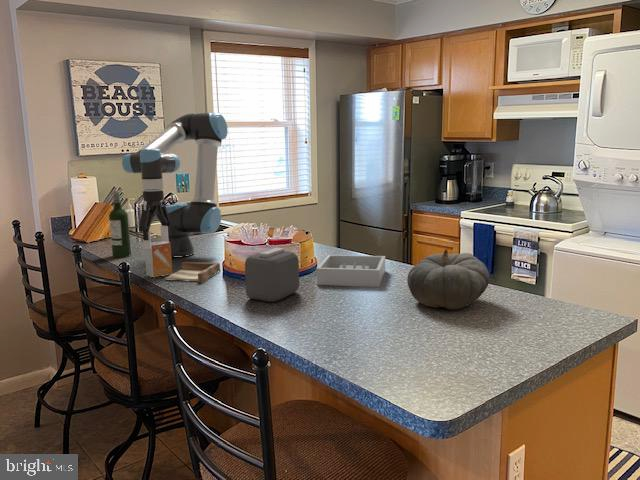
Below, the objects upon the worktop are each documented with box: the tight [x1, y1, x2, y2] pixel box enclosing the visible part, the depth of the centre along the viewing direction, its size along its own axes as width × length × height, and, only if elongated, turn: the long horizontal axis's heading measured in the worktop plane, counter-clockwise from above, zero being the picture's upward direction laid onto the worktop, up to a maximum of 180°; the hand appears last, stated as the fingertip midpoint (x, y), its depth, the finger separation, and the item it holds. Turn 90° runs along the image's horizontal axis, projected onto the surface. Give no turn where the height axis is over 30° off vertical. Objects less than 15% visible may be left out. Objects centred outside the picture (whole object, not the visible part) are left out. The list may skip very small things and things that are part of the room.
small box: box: [144, 240, 173, 277], centre depth 214 cm, size 8×6×13 cm
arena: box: [164, 261, 221, 283], centre depth 212 cm, size 17×16×4 cm
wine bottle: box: [108, 189, 132, 259], centre depth 249 cm, size 8×8×30 cm
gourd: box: [406, 248, 491, 311], centre depth 171 cm, size 25×25×17 cm
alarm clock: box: [244, 247, 300, 303], centre depth 183 cm, size 16×11×16 cm
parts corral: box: [315, 254, 386, 288], centre depth 205 cm, size 22×22×6 cm
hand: (156, 245), depth 212 cm, fingers open, 13 cm apart
